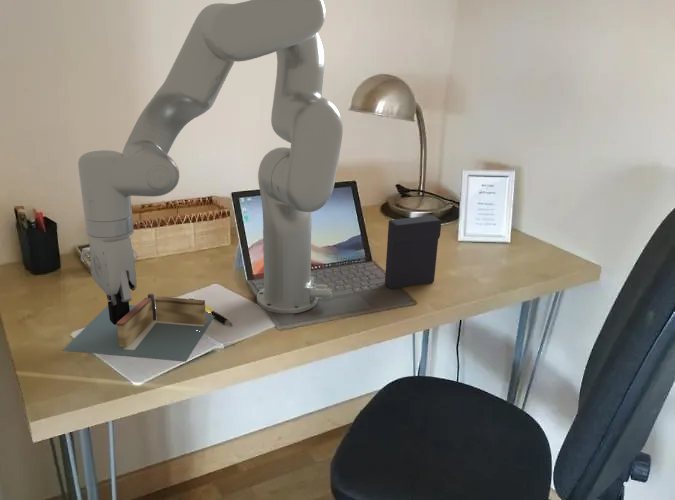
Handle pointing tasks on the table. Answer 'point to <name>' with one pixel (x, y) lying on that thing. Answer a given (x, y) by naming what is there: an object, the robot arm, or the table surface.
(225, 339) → the table surface
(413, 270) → the dark navy box
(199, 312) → the fence fixed
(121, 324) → the fence gate
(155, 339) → the card
